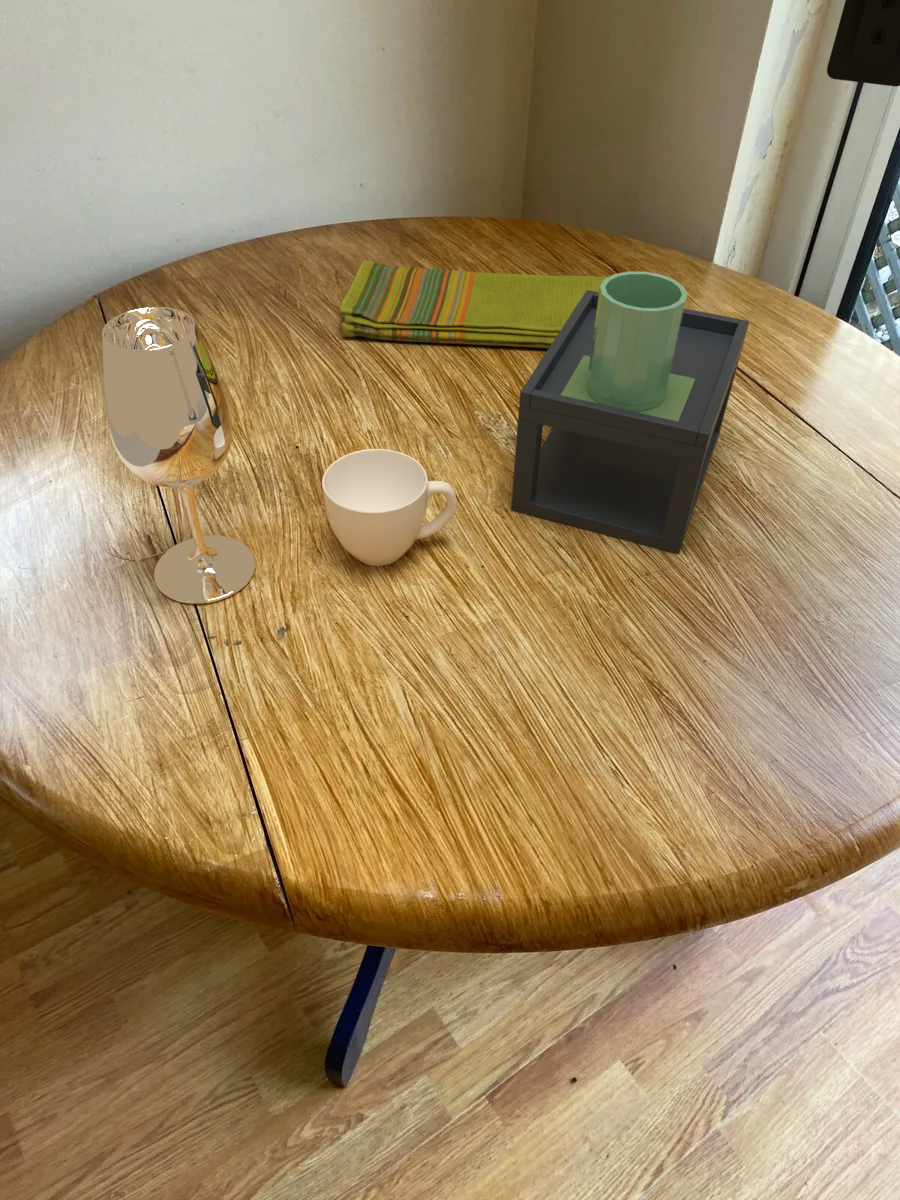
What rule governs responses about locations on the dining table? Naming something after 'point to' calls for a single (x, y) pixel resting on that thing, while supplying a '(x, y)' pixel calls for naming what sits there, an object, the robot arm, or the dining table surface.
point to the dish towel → (460, 305)
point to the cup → (381, 504)
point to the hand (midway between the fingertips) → (872, 52)
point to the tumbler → (635, 339)
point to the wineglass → (173, 438)
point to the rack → (624, 435)
